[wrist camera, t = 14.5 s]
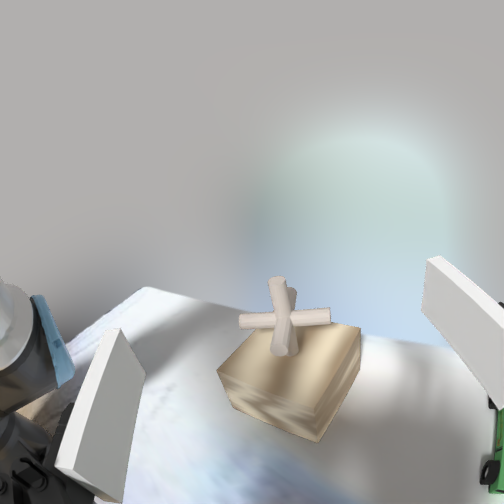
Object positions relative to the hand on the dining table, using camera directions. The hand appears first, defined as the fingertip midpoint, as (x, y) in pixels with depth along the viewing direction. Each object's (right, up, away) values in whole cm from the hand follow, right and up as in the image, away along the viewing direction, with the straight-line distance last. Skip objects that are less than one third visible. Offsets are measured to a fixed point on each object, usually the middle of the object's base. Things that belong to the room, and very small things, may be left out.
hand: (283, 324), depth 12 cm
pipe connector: (+3, -9, +23) cm, 25 cm away
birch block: (+5, -16, +26) cm, 31 cm away
